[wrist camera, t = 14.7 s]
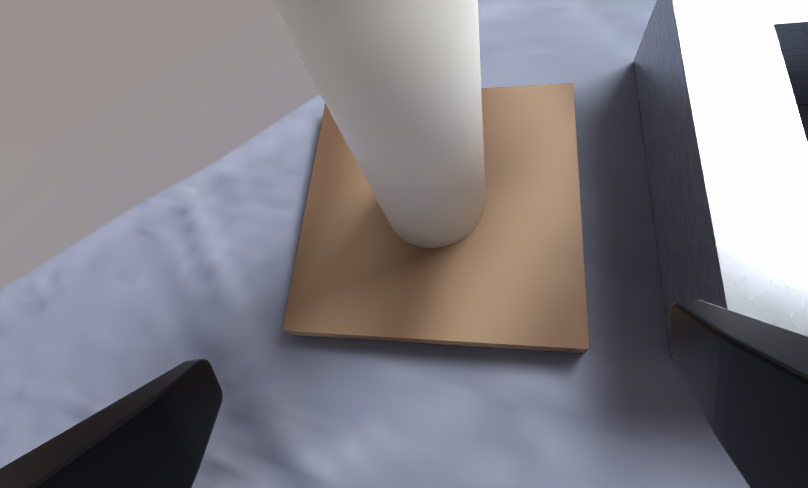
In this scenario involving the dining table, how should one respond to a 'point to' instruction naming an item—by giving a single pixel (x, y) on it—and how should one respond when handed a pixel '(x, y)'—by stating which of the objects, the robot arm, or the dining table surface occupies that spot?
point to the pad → (462, 261)
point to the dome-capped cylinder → (403, 104)
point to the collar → (729, 153)
